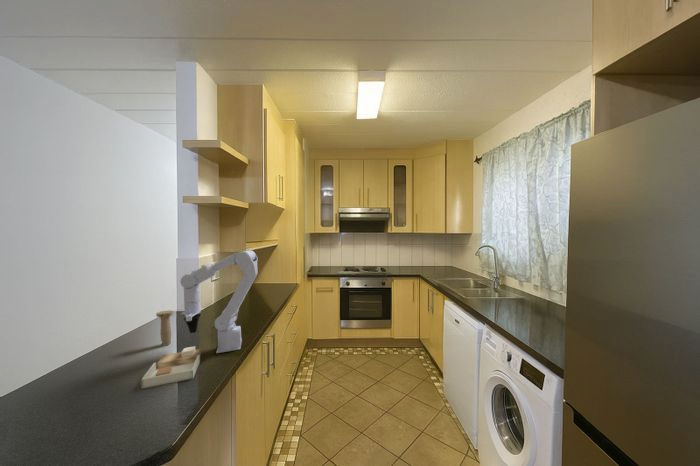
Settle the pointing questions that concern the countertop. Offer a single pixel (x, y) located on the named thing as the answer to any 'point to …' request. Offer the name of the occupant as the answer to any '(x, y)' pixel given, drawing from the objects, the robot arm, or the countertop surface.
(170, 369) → the terracotta tile
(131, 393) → the countertop surface
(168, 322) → the handle
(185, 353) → the cream tile
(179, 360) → the oak board
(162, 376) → the tray
